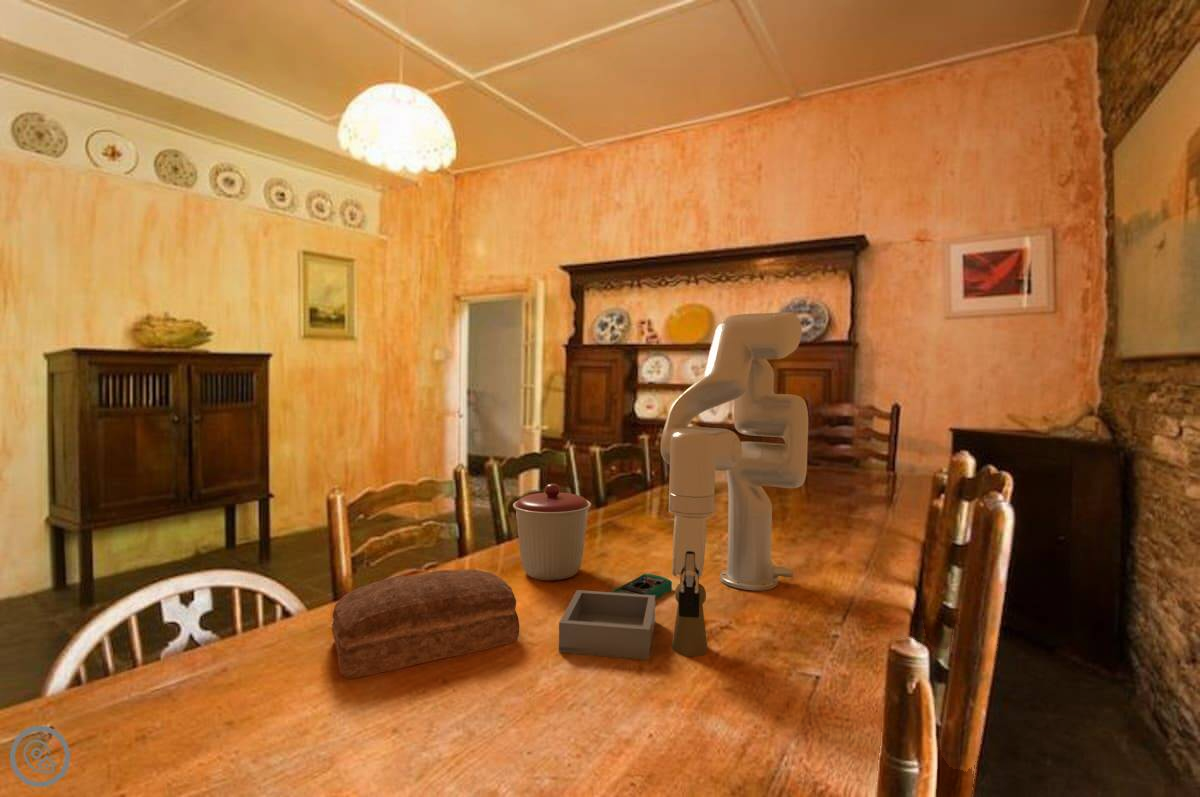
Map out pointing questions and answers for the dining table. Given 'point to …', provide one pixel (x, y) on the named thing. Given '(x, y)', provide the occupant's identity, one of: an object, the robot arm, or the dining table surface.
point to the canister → (551, 533)
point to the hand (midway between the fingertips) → (688, 605)
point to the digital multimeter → (646, 586)
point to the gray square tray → (608, 625)
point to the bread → (422, 620)
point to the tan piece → (690, 629)
